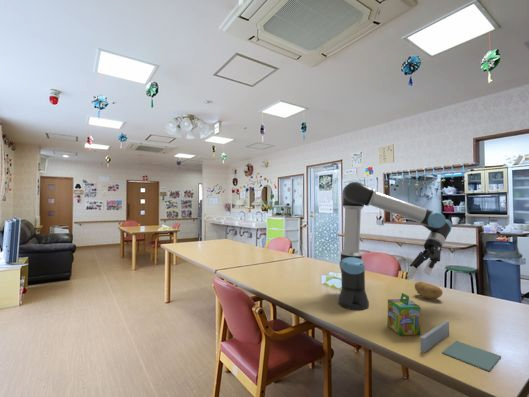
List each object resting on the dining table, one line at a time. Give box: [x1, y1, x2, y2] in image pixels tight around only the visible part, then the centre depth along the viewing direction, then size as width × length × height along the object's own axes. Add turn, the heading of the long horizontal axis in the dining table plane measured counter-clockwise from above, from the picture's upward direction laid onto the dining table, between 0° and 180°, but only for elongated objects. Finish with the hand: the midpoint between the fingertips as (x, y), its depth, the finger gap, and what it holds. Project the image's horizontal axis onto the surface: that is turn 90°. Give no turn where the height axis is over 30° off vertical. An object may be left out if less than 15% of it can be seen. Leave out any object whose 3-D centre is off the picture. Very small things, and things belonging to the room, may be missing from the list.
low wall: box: [420, 320, 450, 354], centre depth 101 cm, size 1×22×5 cm, turn 126°
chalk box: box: [387, 292, 422, 337], centre depth 111 cm, size 9×9×15 cm
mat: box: [441, 340, 502, 372], centre depth 92 cm, size 13×13×1 cm
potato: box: [414, 281, 444, 300], centre depth 147 cm, size 10×14×8 cm
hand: (417, 275), depth 131 cm, fingers open, 13 cm apart
